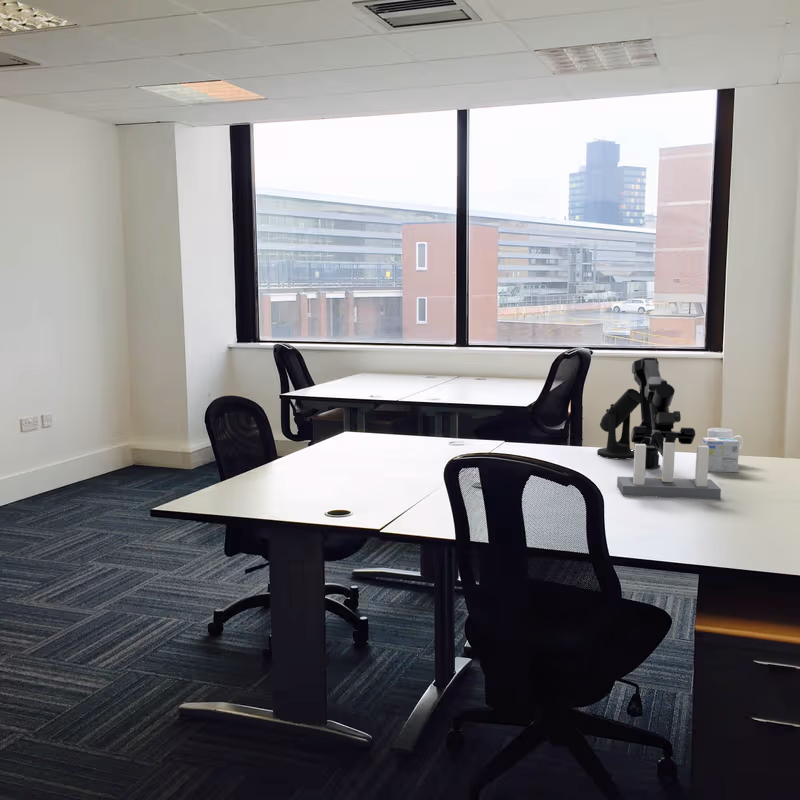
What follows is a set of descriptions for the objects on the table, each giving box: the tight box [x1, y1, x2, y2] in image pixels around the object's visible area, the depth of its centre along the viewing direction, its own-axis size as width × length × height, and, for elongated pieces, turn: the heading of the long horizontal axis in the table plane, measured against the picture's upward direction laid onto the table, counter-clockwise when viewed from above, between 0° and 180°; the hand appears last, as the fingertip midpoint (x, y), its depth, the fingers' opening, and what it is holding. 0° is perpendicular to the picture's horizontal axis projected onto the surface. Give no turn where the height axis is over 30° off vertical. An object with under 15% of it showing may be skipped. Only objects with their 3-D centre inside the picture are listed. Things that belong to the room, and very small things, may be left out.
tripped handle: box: [661, 441, 676, 482], centre depth 253 cm, size 2×3×12 cm, turn 83°
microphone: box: [597, 388, 641, 460], centre depth 305 cm, size 15×17×25 cm
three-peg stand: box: [616, 444, 722, 500], centre depth 252 cm, size 12×28×15 cm, turn 83°
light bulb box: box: [701, 437, 740, 473], centre depth 283 cm, size 11×7×11 cm, turn 84°
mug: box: [706, 427, 744, 451], centre depth 295 cm, size 12×8×11 cm
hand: (665, 458), depth 258 cm, fingers closed
